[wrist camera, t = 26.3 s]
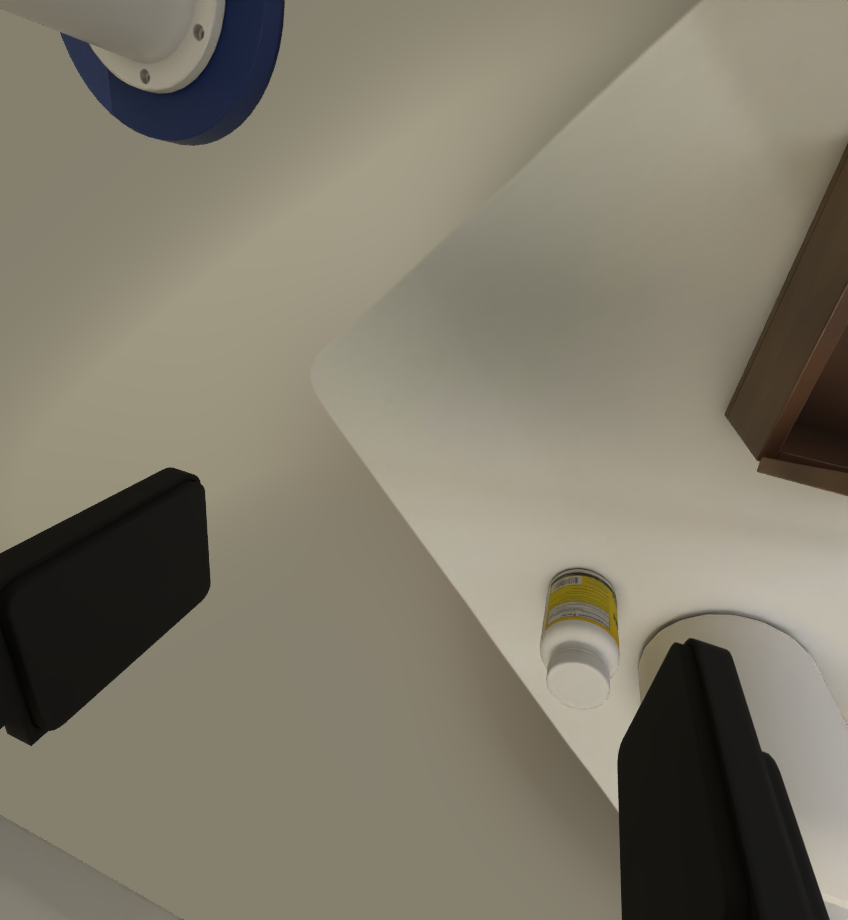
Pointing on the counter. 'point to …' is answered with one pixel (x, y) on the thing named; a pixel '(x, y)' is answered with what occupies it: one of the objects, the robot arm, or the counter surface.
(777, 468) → the lid
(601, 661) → the supplement bottle
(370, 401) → the counter surface
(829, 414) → the chest
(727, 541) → the counter surface
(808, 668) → the white canister
